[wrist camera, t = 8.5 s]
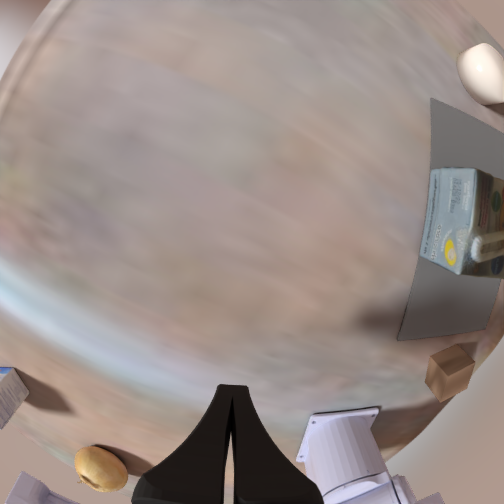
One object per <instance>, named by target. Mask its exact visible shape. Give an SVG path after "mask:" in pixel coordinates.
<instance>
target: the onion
mask: <svg viewBox="0 0 504 504" xmlns="http://www.w3.org/2000/svg"><path fill="white" fill-rule="evenodd" d="M75 468H76V471H77V473H78V475H79V478H80V479H81V482H78V483H82V482H83V483H85V484H87V485H88V486H90V487H91V488H93V489H94V490H96V491H100V492H113V491H118V490H120V489H121V488H123V487H124V486H125V485H126V483H127V480H128V473H127V468H126V467H125V465H124V463H122V462H121V461H120V460H119V459H118V457H116V456H115V455H114V454H112V453H111V452H109V451H108V452H107V450H104V449H102V448H99V447H95V446H90V447H85V448H82V449H80V450H79V451H78V452H77V454H76V456H75Z"/></svg>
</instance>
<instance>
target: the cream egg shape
mask: <svg viewBox="0 0 504 504" xmlns="http://www.w3.org/2000/svg"><path fill="white" fill-rule="evenodd" d="M456 64H457V70H458V74H459V77H460V79H461V81H462V83H463V85H464V87H465V89H466V90H467V92H468V93H469V94H470V96H471V97H472V98H473V99H474V100H475V101H476V102H478V103H479V104H481V105H491V104H496V103H502V102H504V59H503V58H502V56H501V55H500V54H499V53H498V52H497V51H496V50H495V49H494V48H493V47H492V46H490V45H488V44H486V43H482V44H479V45H477V46H474V47H472V48H470V49H468V50H465V51H463V52H461V53H459V55H458V56H457V63H456Z"/></svg>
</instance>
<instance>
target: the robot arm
mask: <svg viewBox="0 0 504 504" xmlns="http://www.w3.org/2000/svg"><path fill="white" fill-rule="evenodd" d="M378 412H379V410H378V408H369V409H362V410H355V411H346V412H337V413H326V414H314V415H312V416H311V417H310V419H309V422H308V425H307V429H306V432H305V435H304V438H303V441H302V443H301V446H300V449H299V452H298V455H297V458H296V461H297V462H304V463H305V468H306V473H307V477H306V476H305V475H304V474H303V473H302V472H301V471H299V470H298V469H297V468H296V467H295V466H294V465H293V464H292V463H291V462H290V461H289V460H288V459H287V458H286V457H285V455H284V454H283V453H282V452H281V451H280V450H279V448H278V447H277V446H276V445H275V443H274V442H273V440H272V439H271V437H270V436H269V434H268V433H267V431H266V430H265V428H264V426H263V424H262V423H261V421H260V419H259V417H258V415H257V412H256V410H255V408H254V405H253V403H252V400H251V397H250V394H249V389H248V387H247V386H244V385H225V384H220V385H218V386H217V390H216V393H215V395H214V397H213V400H212V402H211V404H210V405H209V407H208V409H207V411H206V413H205V414H204V416H203V417H202V419H201V420H200V422H199V423H198V425H197V426H196V428H195V429H194V430H193V431H192V433H191V434H190V435H189V436H188V437H187V439H186V440H185V441H184V442H183V443H182V444H181V445H180V446H179V447H178V448H177V449H176V450H175V451H174V452H173V453H172V454H170V455H169V456H168V457H167V458H166V459H164V460H163V461H162V462H161V463H159V464H158V465H156V466H155V467H153V468H152V469H150V470H149V471H147V472H146V473H144V474H143V475H142V476H141V478H140V479H139V481H138V483H137V485H136V487H135V489H134V492H133V496H132V500H131V502H132V504H224V481H225V467H226V460H227V454H228V448H229V441H230V435H231V436H232V449H233V461H234V504H445V503H444V501H443V499H442V497H441V495H440V493H435V494H433V495H431V496H428V497H426V498H424V499H421V500H419V501H417V500H416V498H415V495H414V493H413V491H412V489H411V487H410V485H409V483H408V481H407V479H406V478H405V476H399V475H398V474H397V475H396V476H394V477H391V476H390V474H389V472H388V469H387V467H386V465H385V462H384V460H383V458H382V455H381V453H380V451H379V448H378V446H377V444H376V441H375V439H374V437H373V435H372V432H371V430H370V428H371V426H372V424H373V422H374V420H375V418H376V416H377V414H378ZM5 504H79V503H77V502H74V501H72V500H70V499H68V498H65V497H63V496H61V495H59V494H57V493H55V492H53V491H51V490H49V488H48V487H47V486H46V485H45V484H44V483H43V482H41V481H40V480H38V479H36V478H34V477H33V476H31V475H29V474H28V473H26V472H24V471H21V473H20V475H19V476H18V478H17V480H16V482H15V484H14V486H13V488H12V489H11V491H10V493H9V495H8V497H7V499H6V501H5Z"/></svg>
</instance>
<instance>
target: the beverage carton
mask: <svg viewBox="0 0 504 504" xmlns="http://www.w3.org/2000/svg"><path fill="white" fill-rule="evenodd" d="M420 256H421V257H422V258H425V259H427V260H429V261H430V262H432V263H434V264H436V265H438V266H440V267H442V268H444V269H446V270H448V271H450V272H452V273H455V274H457V275H468V276H473V277H485V278H499V279H504V180H502V179H500V178H496V177H494V176H492V175H491V174H490V173H486V172H484V171H482V170H480V169H477V168H472V167H469V168H464V167H442V168H437V169H432V170H431V174H430V188H429V198H428V206H427V214H426V221H425V227H424V233H423V238H422V243H421V249H420Z"/></svg>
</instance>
